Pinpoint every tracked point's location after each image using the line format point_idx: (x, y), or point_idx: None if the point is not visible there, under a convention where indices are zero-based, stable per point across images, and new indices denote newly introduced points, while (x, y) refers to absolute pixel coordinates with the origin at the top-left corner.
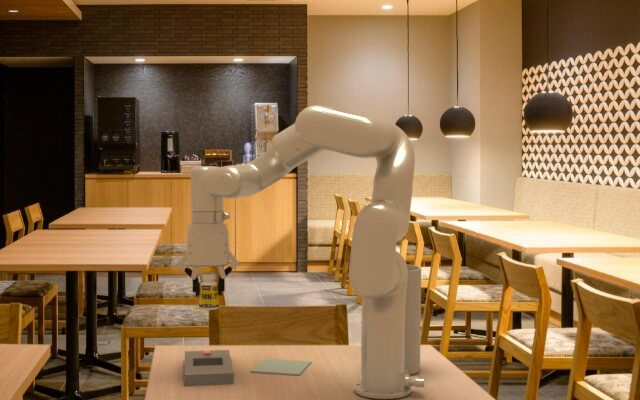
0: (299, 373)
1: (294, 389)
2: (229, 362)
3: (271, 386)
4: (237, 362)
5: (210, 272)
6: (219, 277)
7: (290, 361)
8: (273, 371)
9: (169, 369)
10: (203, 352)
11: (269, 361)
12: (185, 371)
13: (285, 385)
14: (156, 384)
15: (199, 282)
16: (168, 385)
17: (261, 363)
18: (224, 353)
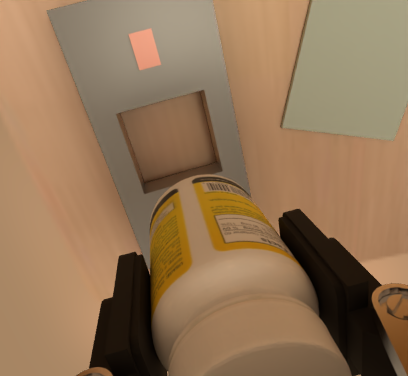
0: (394, 135)
1: (369, 234)
2: (235, 144)
3: (327, 224)
4: (233, 15)
5: (277, 348)
6: (355, 364)
7: (388, 10)
8: (337, 126)
9: (49, 123)
10: (124, 24)
11: (330, 16)
12: (140, 243)
13: (354, 213)
14: (78, 254)
15: (167, 369)
16: (110, 256)
17: (307, 44)
18: (201, 32)
